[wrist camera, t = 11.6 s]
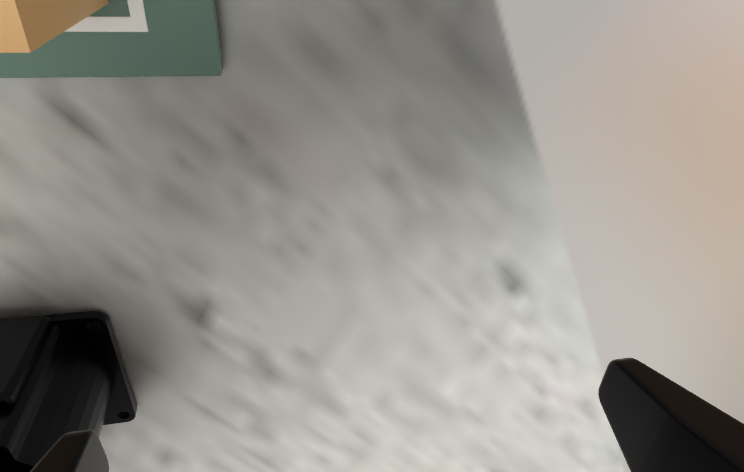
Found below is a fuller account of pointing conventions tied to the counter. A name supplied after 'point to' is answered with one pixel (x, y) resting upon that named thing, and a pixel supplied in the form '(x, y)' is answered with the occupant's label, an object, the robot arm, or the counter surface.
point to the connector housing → (39, 21)
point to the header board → (129, 43)
